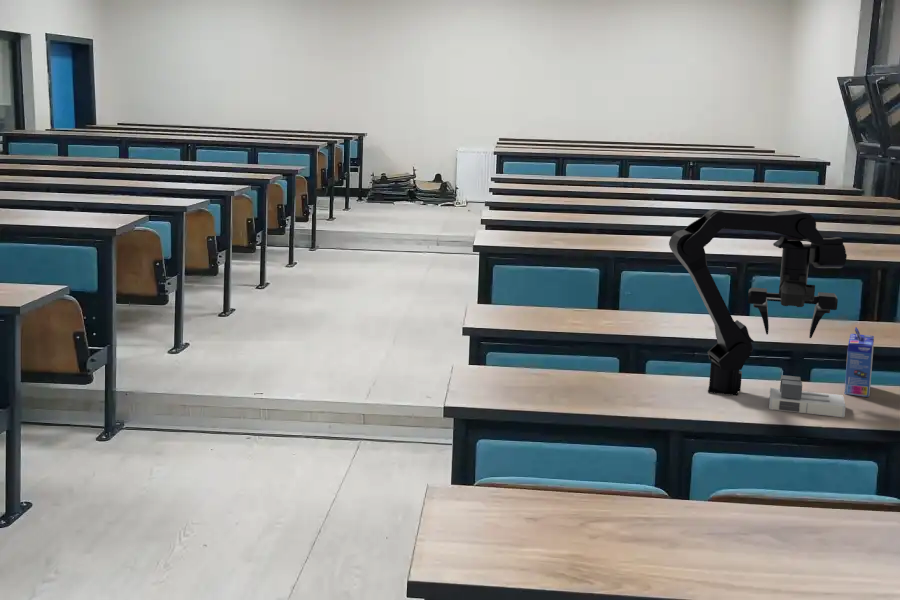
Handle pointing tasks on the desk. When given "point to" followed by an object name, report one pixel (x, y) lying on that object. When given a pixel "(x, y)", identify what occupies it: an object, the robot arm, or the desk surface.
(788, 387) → the switch near
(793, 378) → the switch far
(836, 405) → the box
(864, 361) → the ink cartridge box
